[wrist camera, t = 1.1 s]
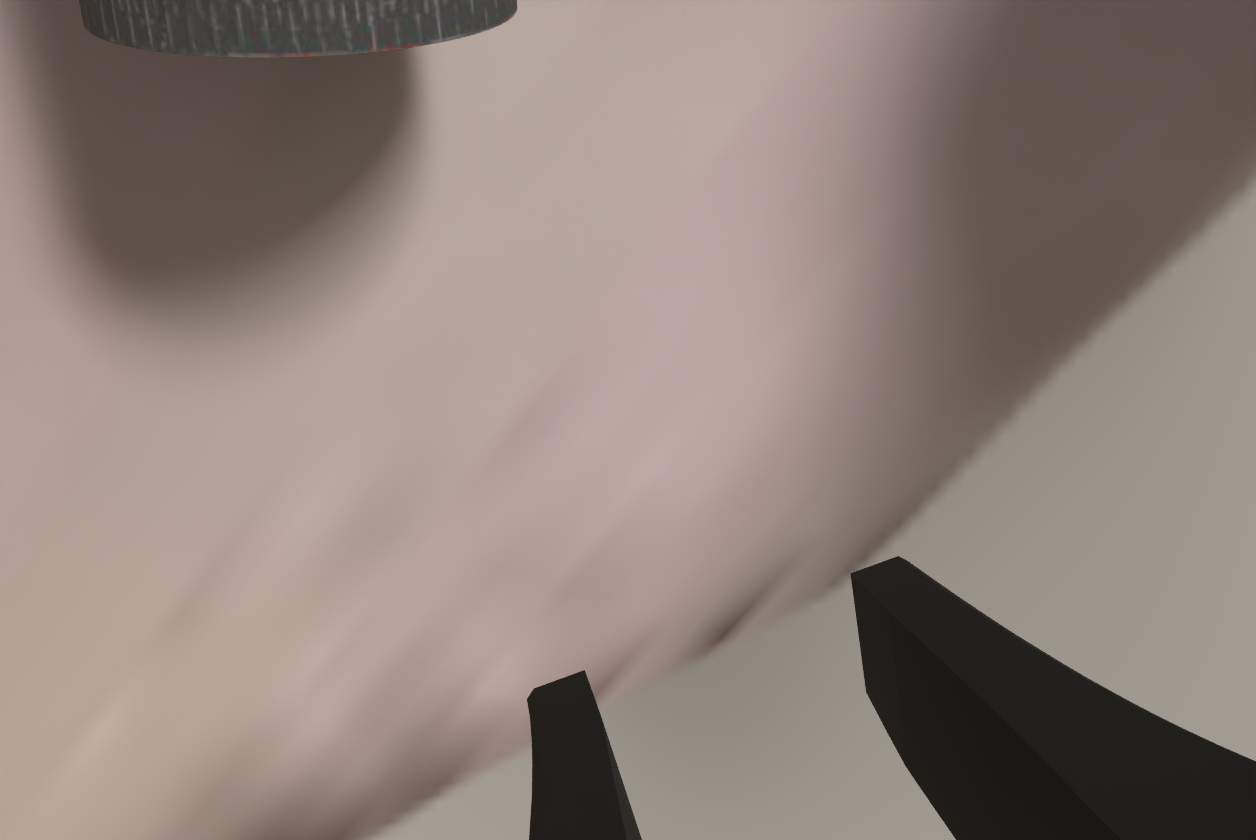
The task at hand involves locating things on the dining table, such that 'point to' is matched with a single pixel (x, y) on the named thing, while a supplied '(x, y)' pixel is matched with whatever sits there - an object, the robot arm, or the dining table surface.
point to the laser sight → (288, 25)
